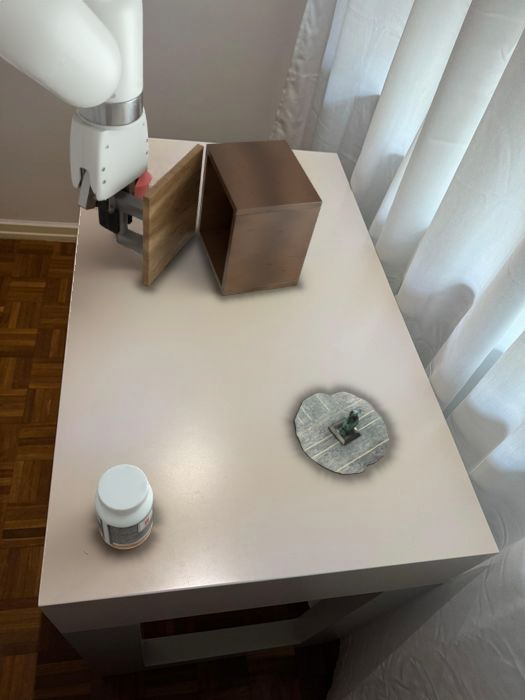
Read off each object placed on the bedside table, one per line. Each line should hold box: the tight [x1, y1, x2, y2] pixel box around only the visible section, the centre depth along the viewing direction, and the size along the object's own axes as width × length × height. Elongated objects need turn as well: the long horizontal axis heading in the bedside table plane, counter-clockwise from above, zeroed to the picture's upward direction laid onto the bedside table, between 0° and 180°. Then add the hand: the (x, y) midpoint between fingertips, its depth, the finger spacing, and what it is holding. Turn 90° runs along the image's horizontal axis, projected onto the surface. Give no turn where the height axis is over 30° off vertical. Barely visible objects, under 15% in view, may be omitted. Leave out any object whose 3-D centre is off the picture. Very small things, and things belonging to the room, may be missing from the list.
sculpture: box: [294, 391, 390, 475], centre depth 73 cm, size 12×9×8 cm
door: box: [114, 143, 205, 287], centre depth 81 cm, size 7×14×16 cm, turn 155°
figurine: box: [135, 168, 153, 200], centre depth 89 cm, size 5×5×15 cm
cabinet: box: [197, 139, 323, 297], centre depth 84 cm, size 12×14×16 cm
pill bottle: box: [93, 463, 154, 550], centre depth 58 cm, size 6×6×10 cm
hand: (115, 223), depth 80 cm, fingers closed on door, 2 cm apart
